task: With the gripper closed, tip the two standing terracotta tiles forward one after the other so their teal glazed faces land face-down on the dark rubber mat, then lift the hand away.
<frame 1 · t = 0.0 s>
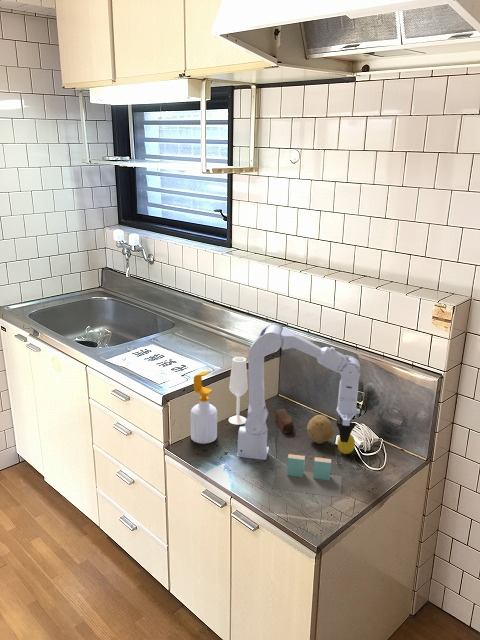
hand: (344, 435, 175), 10 cm above the counter, tool pointing down, fingers open, 7 cm apart
lemon: (345, 454, 184), on the counter
soap bottle: (203, 438, 192), on the counter
mat: (307, 483, 168), on the counter
champagne flute: (237, 420, 205), on the counter
tile left: (295, 474, 171), resting on mat
tile right: (321, 477, 170), resting on mat
natural sponge: (318, 442, 191), on the counter
brick: (283, 427, 201), on the counter
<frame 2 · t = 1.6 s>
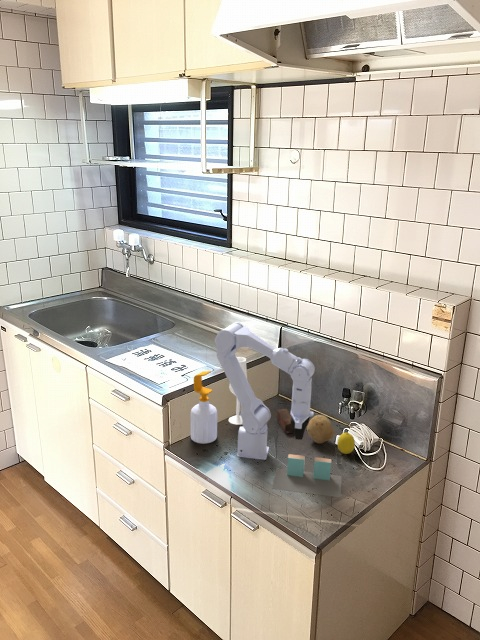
hand: (298, 438, 175), 9 cm above the counter, tool pointing down, fingers closed
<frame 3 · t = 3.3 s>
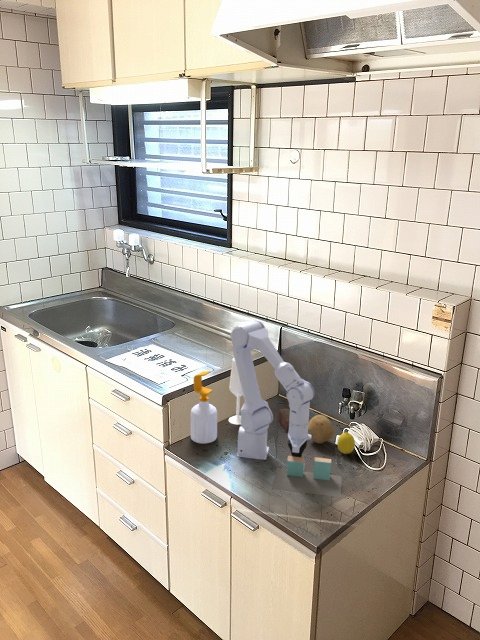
hand: (296, 461, 171), 4 cm above the counter, tool pointing down, fingers closed
tile left: (295, 473, 171), point 1 cm above the counter, tilted 15°, touching mat
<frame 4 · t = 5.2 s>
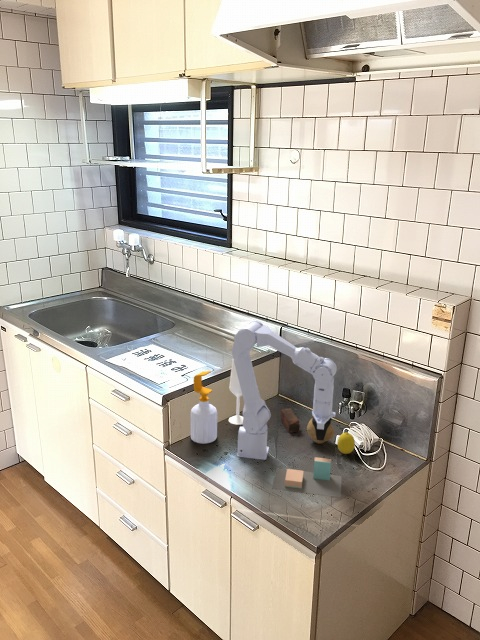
hand: (320, 439, 172), 11 cm above the counter, tool pointing down, fingers closed
tile left: (295, 472, 170), point 2 cm above the counter, tilted 90°, touching mat
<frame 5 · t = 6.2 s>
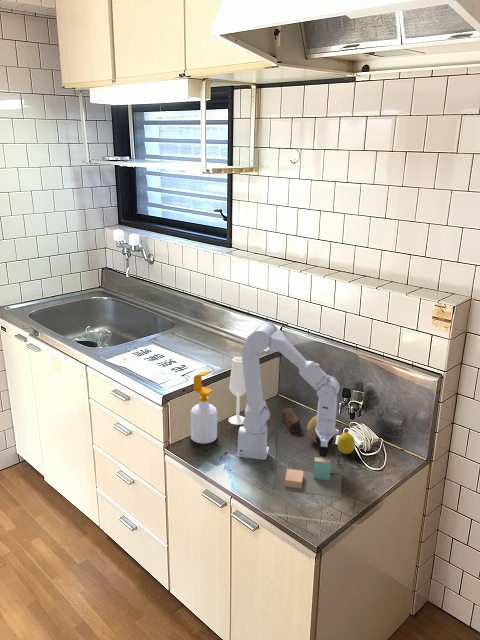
hand: (323, 455, 174), 4 cm above the counter, tool pointing down, fingers closed
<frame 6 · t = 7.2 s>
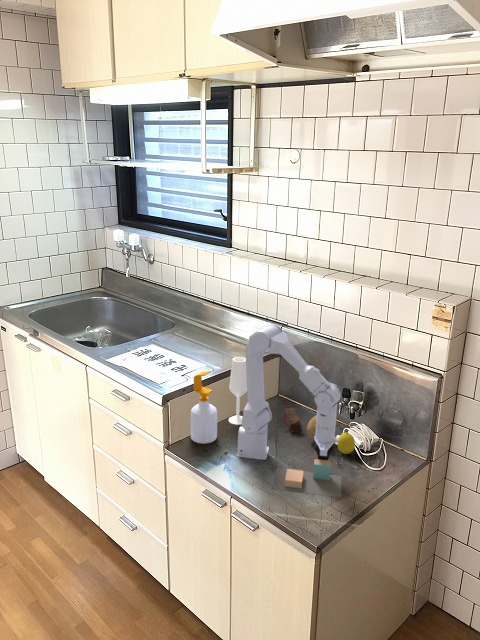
hand: (322, 464, 170), 4 cm above the counter, tool pointing down, fingers closed
tile right: (321, 476, 170), point 1 cm above the counter, tilted 15°, touching gripper, mat
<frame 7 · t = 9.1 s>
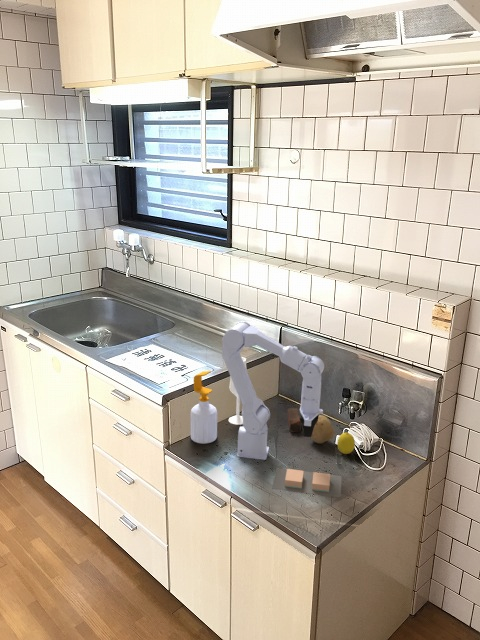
hand: (307, 435, 174), 10 cm above the counter, tool pointing down, fingers closed
tile right: (321, 476, 169), point 2 cm above the counter, tilted 90°, touching mat
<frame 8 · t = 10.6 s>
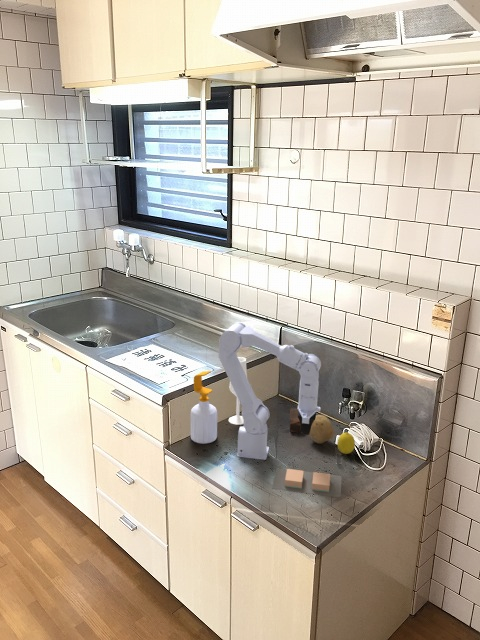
hand: (305, 433, 175), 10 cm above the counter, tool pointing down, fingers closed
at the end: tile left tilted 90°; tile right tilted 90°; tile left inside the target area (2.5 cm from its centre), point 1.6 cm above the counter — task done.
